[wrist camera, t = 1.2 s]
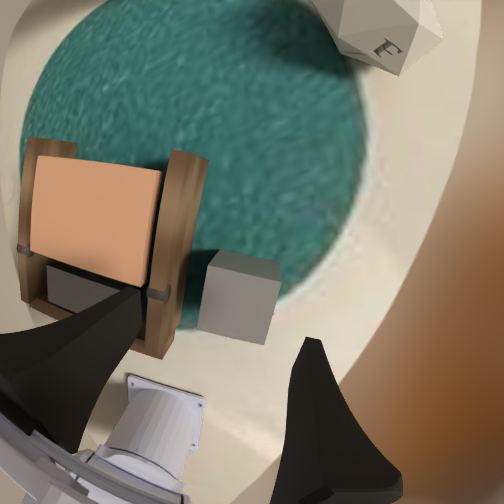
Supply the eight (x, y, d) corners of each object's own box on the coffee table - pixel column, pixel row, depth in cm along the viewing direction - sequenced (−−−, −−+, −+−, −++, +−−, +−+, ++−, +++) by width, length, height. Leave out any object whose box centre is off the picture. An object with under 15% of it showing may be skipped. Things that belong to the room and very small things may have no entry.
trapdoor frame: (180, 331, 23) (158, 368, 18) (57, 289, 23) (21, 310, 18) (210, 160, 20) (189, 152, 15) (69, 142, 20) (26, 137, 15)
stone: (265, 316, 23) (263, 345, 18) (209, 303, 23) (196, 329, 18) (279, 262, 22) (281, 282, 17) (220, 249, 22) (208, 265, 17)
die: (284, 27, 18) (323, 41, 11) (328, -50, 12) (391, -68, 5) (366, 70, 21) (429, 112, 14) (407, 2, 15) (485, 21, 8)
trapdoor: (150, 323, 20) (136, 339, 18) (50, 287, 20) (32, 297, 18) (171, 172, 17) (157, 170, 15) (58, 156, 18) (37, 155, 15)
